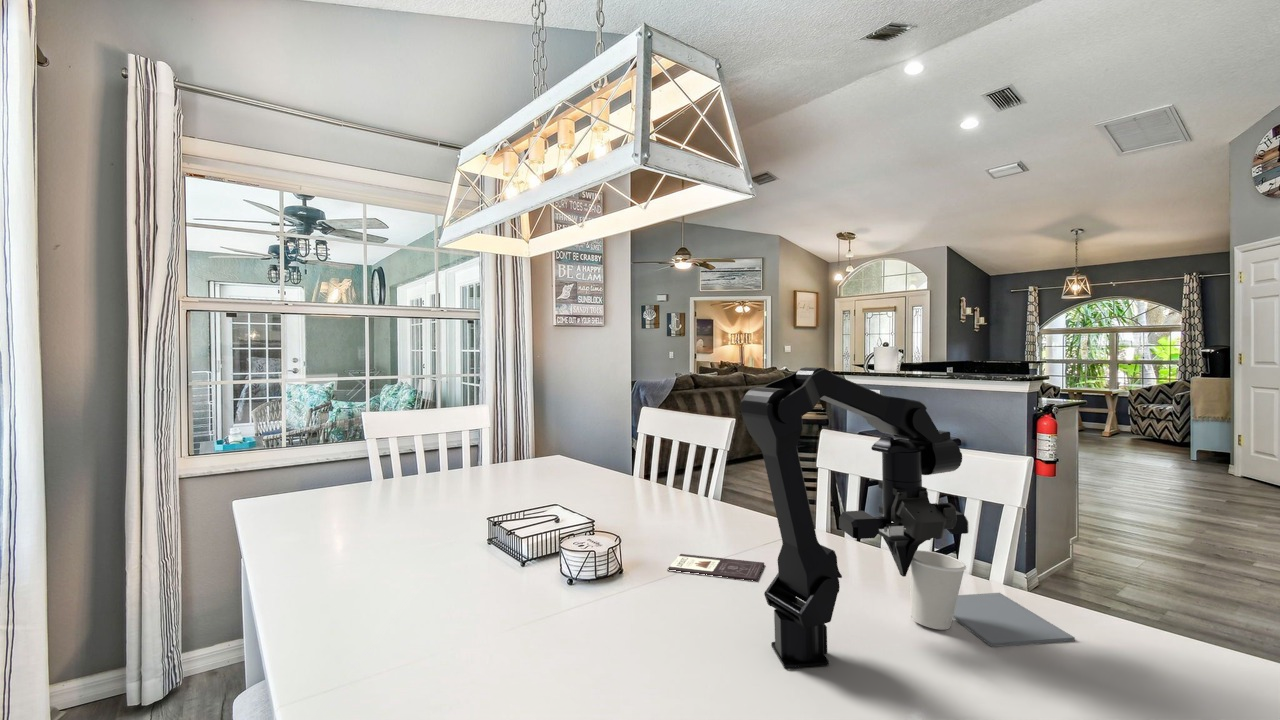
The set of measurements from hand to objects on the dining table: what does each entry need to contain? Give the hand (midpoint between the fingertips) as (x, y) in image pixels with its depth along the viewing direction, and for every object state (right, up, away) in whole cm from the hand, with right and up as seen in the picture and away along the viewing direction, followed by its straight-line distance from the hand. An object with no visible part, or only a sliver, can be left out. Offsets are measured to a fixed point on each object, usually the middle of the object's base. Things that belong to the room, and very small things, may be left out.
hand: (903, 575), depth 92 cm
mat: (+15, -7, +1) cm, 17 cm away
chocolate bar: (-26, -9, +26) cm, 38 cm away
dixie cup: (+5, -8, 0) cm, 9 cm away
